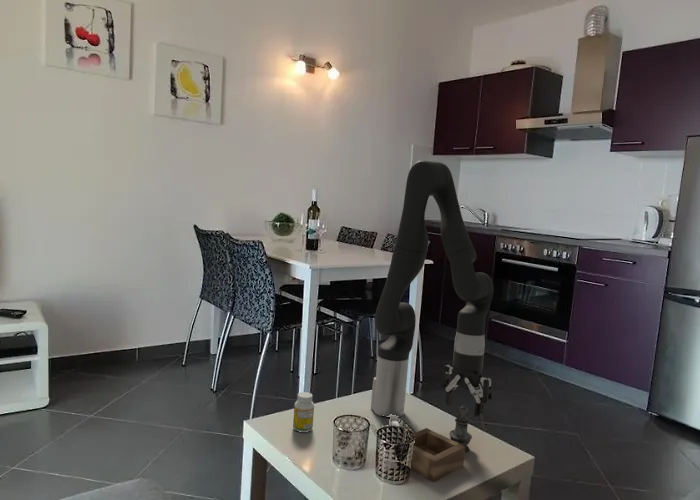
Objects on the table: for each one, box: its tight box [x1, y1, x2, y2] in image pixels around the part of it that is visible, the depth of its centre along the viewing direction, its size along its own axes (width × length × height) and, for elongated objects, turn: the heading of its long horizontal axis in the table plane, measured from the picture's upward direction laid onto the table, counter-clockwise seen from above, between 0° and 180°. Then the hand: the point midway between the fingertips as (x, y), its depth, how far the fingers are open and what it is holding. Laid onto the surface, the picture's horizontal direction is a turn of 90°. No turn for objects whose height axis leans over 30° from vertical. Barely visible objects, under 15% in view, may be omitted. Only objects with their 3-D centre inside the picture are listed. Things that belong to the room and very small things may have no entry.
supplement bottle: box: [292, 391, 315, 433], centre depth 139 cm, size 5×5×10 cm
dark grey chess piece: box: [448, 403, 473, 454], centre depth 135 cm, size 6×6×12 cm
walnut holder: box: [410, 427, 466, 483], centre depth 127 cm, size 12×12×5 cm
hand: (463, 410), depth 134 cm, fingers open, 8 cm apart
